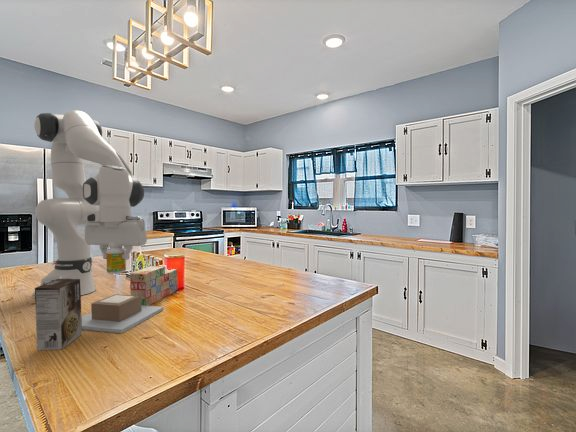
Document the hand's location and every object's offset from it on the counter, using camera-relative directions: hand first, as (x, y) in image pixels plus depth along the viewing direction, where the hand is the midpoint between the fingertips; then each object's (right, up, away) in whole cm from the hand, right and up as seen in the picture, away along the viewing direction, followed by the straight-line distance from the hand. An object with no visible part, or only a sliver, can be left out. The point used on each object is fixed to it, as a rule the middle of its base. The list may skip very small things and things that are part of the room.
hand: (116, 259), depth 100 cm
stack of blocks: (+3, -19, +23) cm, 29 cm away
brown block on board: (0, -19, +1) cm, 19 cm away
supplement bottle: (0, -4, 0) cm, 4 cm away
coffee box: (-6, -20, -17) cm, 27 cm away
